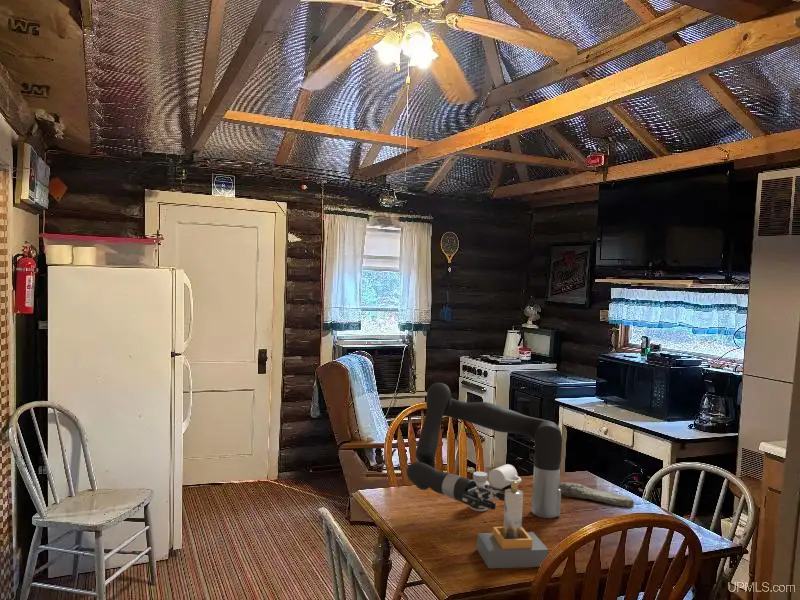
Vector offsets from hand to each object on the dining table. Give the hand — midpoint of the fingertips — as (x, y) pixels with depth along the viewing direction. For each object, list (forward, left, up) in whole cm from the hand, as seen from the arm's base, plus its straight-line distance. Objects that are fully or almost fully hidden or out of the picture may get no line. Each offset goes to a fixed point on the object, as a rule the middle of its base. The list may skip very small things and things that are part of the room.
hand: (502, 502), depth 175 cm
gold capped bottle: (-2, +3, -11) cm, 11 cm away
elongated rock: (-50, -44, -16) cm, 69 cm away
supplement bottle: (-4, -35, -16) cm, 39 cm away
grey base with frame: (-3, +3, -16) cm, 16 cm away
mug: (-21, -56, -16) cm, 62 cm away
